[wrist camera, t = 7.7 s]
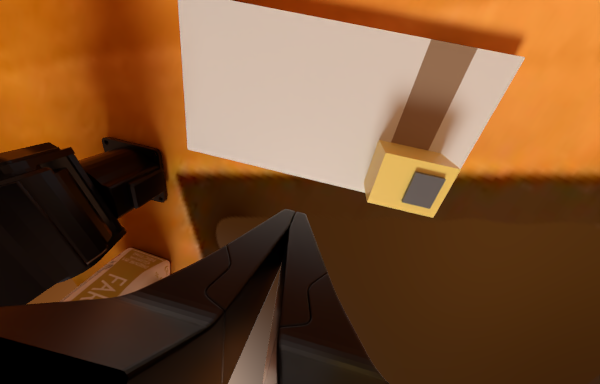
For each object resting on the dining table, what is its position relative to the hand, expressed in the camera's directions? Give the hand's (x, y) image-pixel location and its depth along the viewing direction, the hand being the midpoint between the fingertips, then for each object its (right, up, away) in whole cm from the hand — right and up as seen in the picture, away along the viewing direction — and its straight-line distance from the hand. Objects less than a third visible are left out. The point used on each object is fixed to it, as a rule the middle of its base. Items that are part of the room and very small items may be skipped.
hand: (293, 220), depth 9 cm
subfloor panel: (+2, +8, +10) cm, 13 cm away
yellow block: (+9, +3, +10) cm, 14 cm away
